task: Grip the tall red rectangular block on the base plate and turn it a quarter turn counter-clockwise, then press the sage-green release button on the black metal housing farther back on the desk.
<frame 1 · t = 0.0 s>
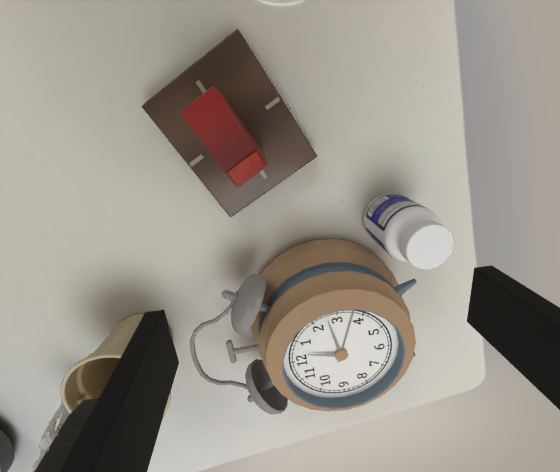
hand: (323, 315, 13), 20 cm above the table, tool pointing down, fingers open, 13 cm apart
alarm clock: (298, 308, 37), on the table
base plate: (234, 131, 29), on the table
red rectangular block: (230, 135, 23), point 7 cm above the table, hinge at 0.0°
pill bottle: (385, 215, 34), on the table
figurine: (90, 381, 38), on the table
flower pot: (146, 333, 37), on the table
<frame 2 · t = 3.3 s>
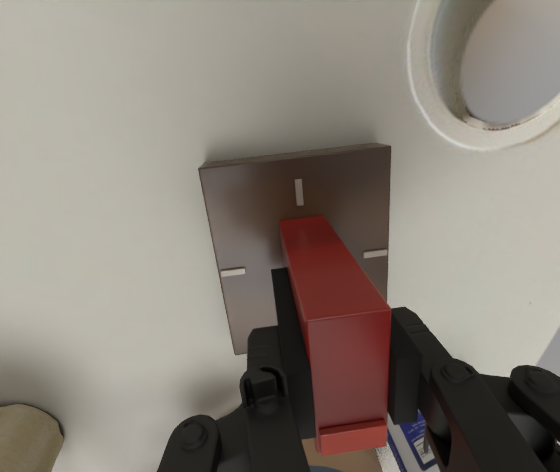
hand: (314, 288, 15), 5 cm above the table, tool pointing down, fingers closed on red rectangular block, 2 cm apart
alarm clock: (249, 466, 27), on the table
base plate: (299, 248, 20), on the table
red rectangular block: (321, 308, 14), point 7 cm above the table, hinge at 0.0°, touching gripper
pill bottle: (408, 408, 26), on the table
flower pot: (23, 429, 24), on the table
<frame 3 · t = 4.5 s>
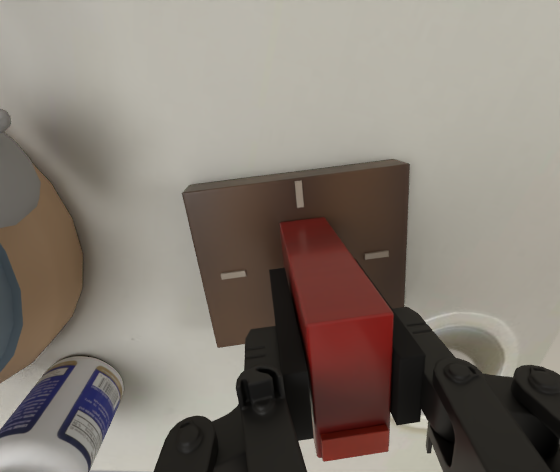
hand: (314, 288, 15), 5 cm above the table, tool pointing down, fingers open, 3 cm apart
base plate: (300, 250, 20), on the table
red rectangular block: (322, 310, 14), point 7 cm above the table, hinge at 89.5°
pill bottle: (88, 381, 22), on the table
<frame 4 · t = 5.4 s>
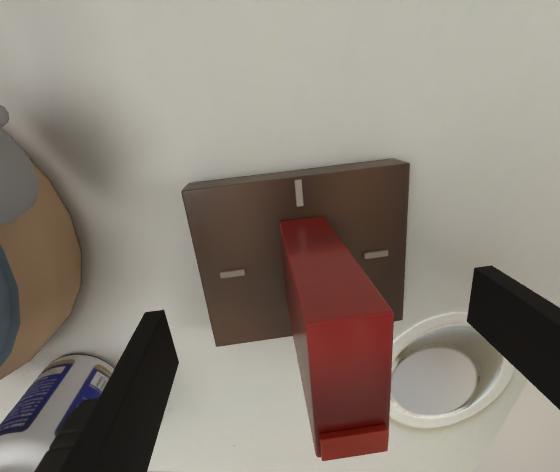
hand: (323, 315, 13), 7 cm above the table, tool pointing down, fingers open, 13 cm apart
base plate: (299, 249, 20), on the table
red rectangular block: (321, 310, 14), point 7 cm above the table, hinge at 89.5°
pill bottle: (86, 379, 22), on the table
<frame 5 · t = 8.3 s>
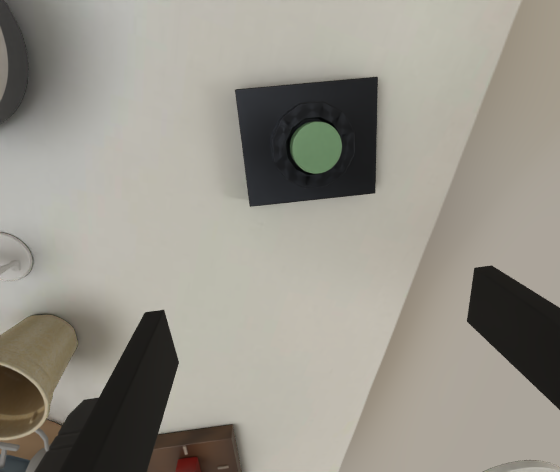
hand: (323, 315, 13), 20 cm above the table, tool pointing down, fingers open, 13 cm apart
alarm clock: (30, 445, 40), on the table
base plate: (194, 455, 43), on the table
release button: (315, 147, 26), point 4 cm above the table, slide at 0.1 cm
figurine: (5, 255, 31), on the table
flower pot: (50, 335, 35), on the table
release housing: (306, 143, 30), on the table
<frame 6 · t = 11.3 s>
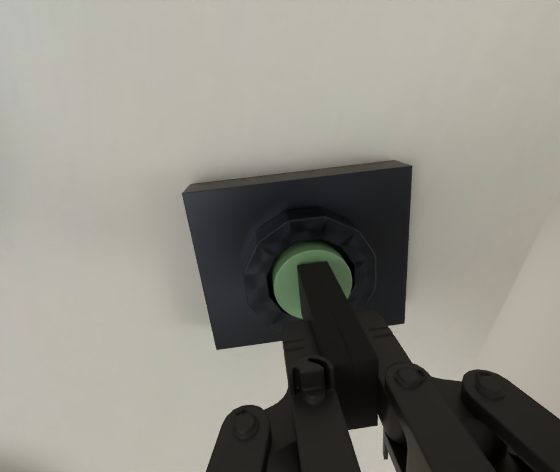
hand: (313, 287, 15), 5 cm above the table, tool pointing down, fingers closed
release button: (310, 278, 17), point 4 cm above the table, slide at -0.7 cm, touching gripper
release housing: (300, 250, 20), on the table
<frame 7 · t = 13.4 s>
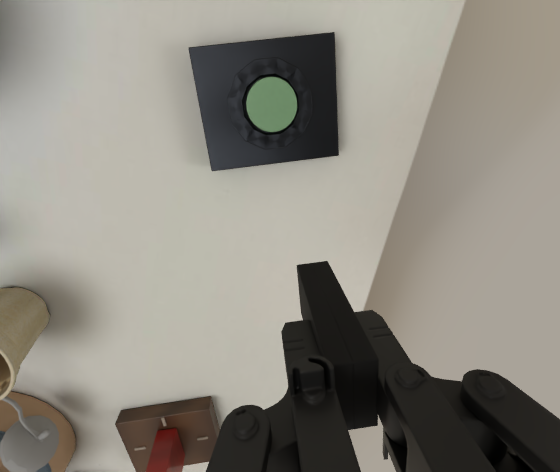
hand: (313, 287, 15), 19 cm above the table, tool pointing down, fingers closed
alarm clock: (10, 420, 41), on the table
base plate: (174, 428, 44), on the table
release button: (271, 105, 25), point 4 cm above the table, slide at 0.1 cm
flower pot: (21, 309, 35), on the table
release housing: (268, 106, 29), on the table
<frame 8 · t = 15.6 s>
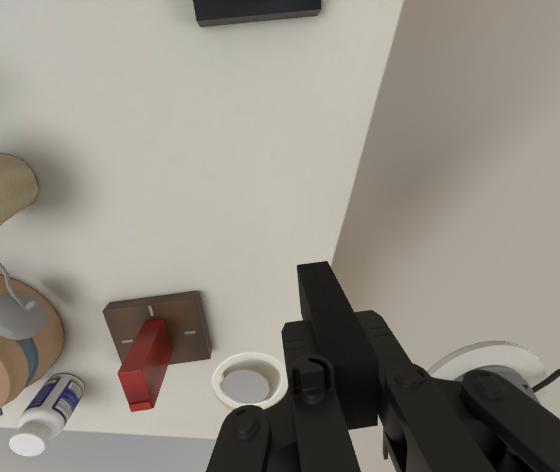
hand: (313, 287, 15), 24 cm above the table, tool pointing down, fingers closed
base plate: (162, 326, 44), on the table
red rectangular block: (148, 361, 38), point 7 cm above the table, hinge at 89.5°
pill bottle: (67, 385, 46), on the table
flower pot: (11, 181, 36), on the table
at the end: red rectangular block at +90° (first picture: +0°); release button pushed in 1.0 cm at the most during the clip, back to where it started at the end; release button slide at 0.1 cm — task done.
